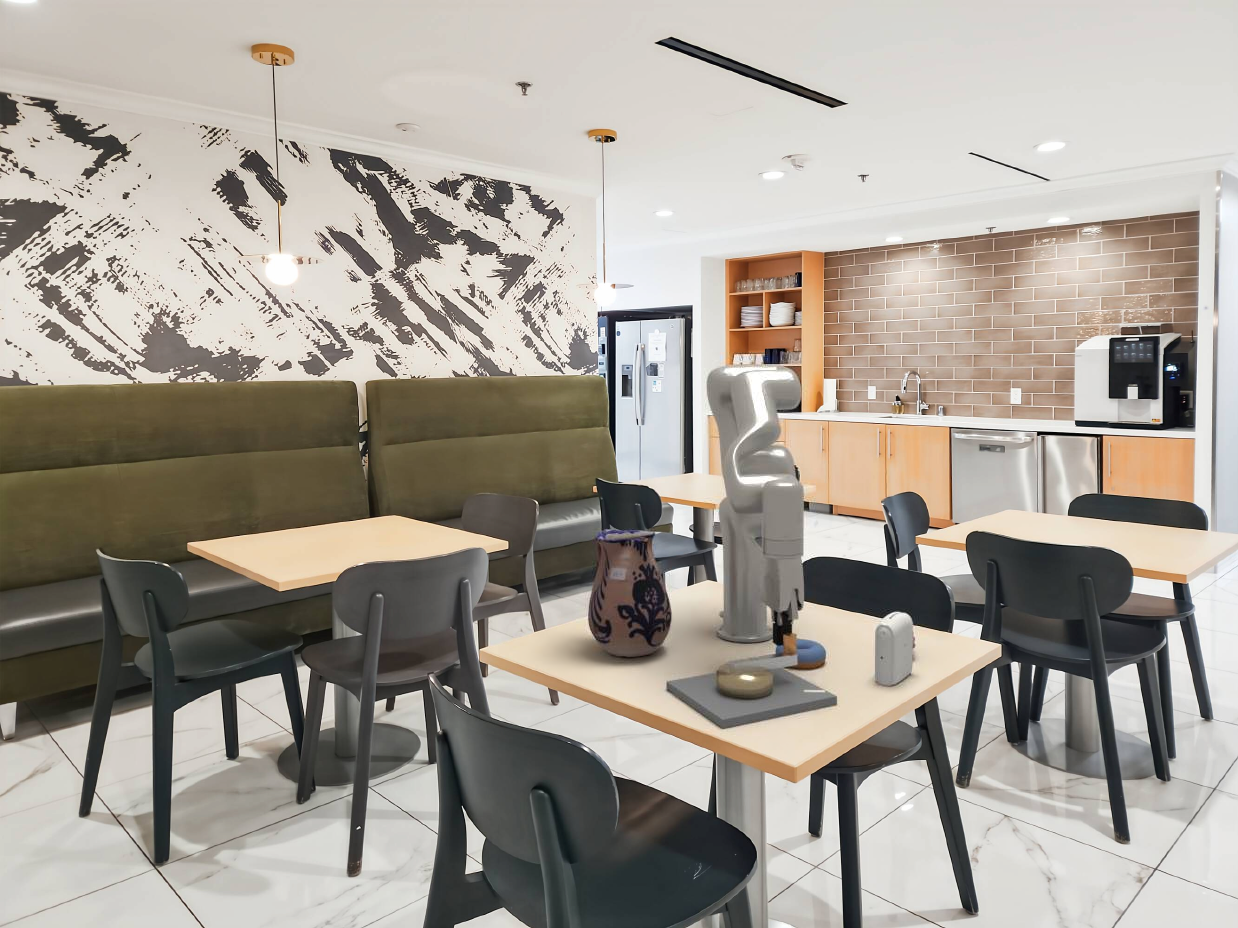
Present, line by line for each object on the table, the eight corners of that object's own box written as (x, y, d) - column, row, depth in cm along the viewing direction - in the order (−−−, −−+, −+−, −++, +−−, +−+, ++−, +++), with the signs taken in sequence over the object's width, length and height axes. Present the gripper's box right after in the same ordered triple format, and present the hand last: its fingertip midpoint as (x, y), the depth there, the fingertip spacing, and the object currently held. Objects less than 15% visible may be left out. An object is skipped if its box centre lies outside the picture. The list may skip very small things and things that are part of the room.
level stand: (666, 689, 158) (666, 680, 158) (771, 670, 167) (771, 661, 167) (722, 728, 140) (722, 718, 140) (836, 704, 149) (837, 694, 149)
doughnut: (795, 672, 165) (796, 649, 165) (765, 660, 174) (766, 638, 174) (836, 669, 169) (837, 646, 169) (804, 657, 178) (805, 635, 178)
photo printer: (893, 687, 157) (894, 621, 155) (871, 683, 159) (872, 618, 158) (915, 672, 164) (916, 609, 163) (893, 668, 167) (894, 606, 166)
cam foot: (734, 701, 147) (733, 653, 146) (706, 683, 156) (706, 637, 155) (811, 687, 152) (811, 641, 152) (780, 670, 162) (780, 626, 161)
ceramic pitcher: (625, 671, 168) (623, 545, 166) (562, 646, 185) (559, 532, 182) (689, 652, 179) (688, 534, 177) (624, 630, 196) (622, 522, 193)
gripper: (747, 540, 164) (747, 634, 166) (781, 556, 149) (781, 658, 151) (783, 538, 165) (783, 630, 167) (820, 553, 151) (819, 654, 153)
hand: (782, 643), depth 159 cm, fingers closed
